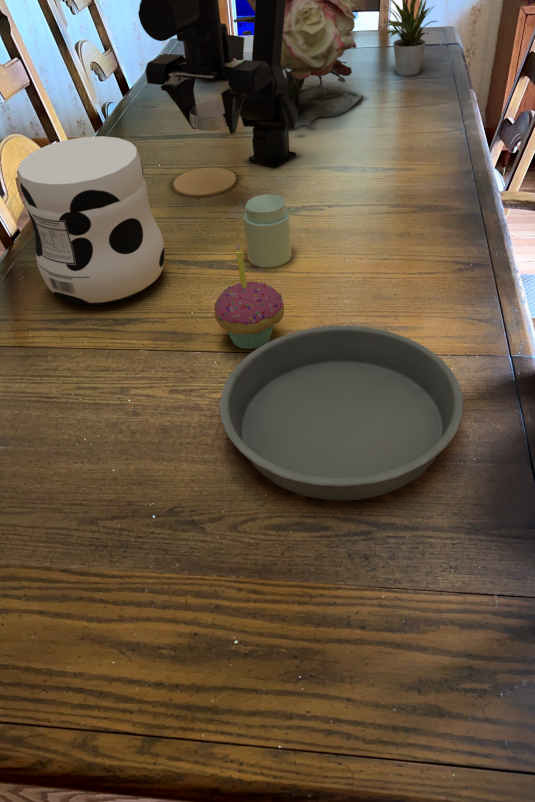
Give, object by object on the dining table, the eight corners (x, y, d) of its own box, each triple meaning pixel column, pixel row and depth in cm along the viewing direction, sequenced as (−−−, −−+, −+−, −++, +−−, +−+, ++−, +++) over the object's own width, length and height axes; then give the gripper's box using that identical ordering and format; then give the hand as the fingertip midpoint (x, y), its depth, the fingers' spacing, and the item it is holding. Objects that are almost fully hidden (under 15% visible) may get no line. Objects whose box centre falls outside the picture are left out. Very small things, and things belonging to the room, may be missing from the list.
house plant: (375, 61, 171) (377, -16, 160) (435, 59, 169) (440, -19, 158) (374, 81, 160) (376, -1, 149) (437, 79, 158) (443, -4, 147)
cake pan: (240, 355, 87) (236, 324, 84) (448, 356, 84) (451, 324, 81) (206, 511, 68) (200, 479, 65) (471, 520, 65) (477, 486, 62)
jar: (266, 241, 108) (262, 189, 102) (300, 252, 104) (298, 199, 99) (238, 259, 104) (233, 206, 99) (273, 272, 101) (268, 217, 95)
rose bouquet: (300, 138, 138) (293, -43, 118) (213, 104, 156) (194, -57, 136) (393, 102, 149) (401, -68, 129) (302, 75, 167) (296, -78, 147)
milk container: (165, 244, 109) (143, 126, 97) (173, 305, 96) (149, 176, 84) (50, 261, 108) (14, 143, 96) (43, 325, 95) (0, 197, 83)
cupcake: (208, 330, 91) (196, 245, 83) (270, 311, 93) (263, 227, 85) (233, 367, 85) (222, 279, 77) (298, 346, 87) (293, 259, 79)
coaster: (203, 165, 131) (203, 162, 131) (248, 177, 126) (248, 175, 125) (160, 187, 125) (160, 185, 125) (206, 201, 119) (206, 199, 119)
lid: (182, 128, 110) (180, 114, 108) (205, 112, 114) (203, 98, 113) (221, 132, 107) (219, 118, 106) (242, 116, 111) (241, 102, 110)
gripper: (284, 8, 103) (290, 117, 113) (175, 3, 110) (190, 107, 120) (247, 30, 96) (257, 145, 106) (134, 23, 103) (153, 131, 113)
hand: (214, 130), depth 111 cm, fingers closed on lid, 6 cm apart
